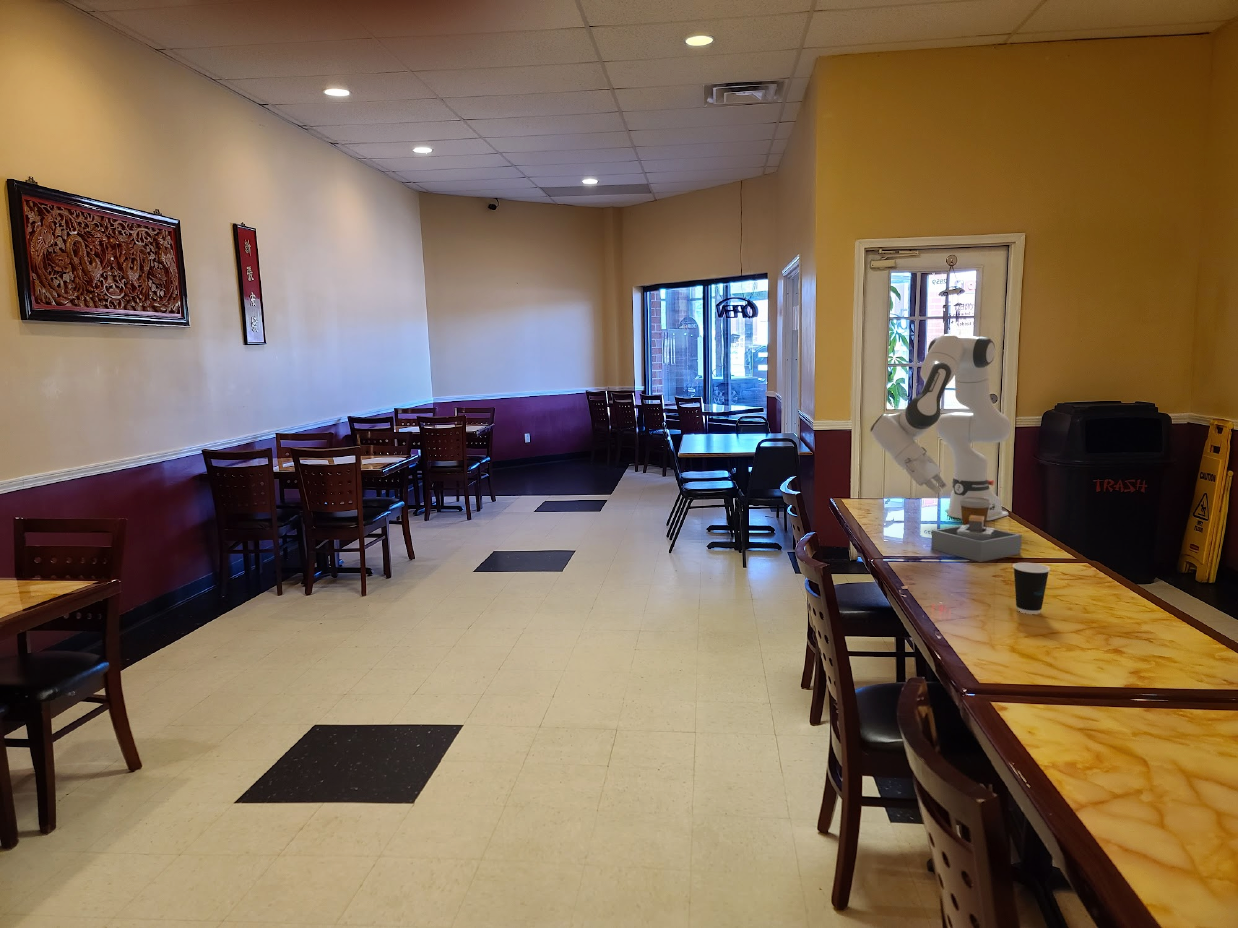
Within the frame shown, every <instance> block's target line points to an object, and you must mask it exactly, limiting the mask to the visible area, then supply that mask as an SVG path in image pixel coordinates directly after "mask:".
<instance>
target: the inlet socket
mask: <svg viewBox="0 0 1238 928" xmlns="http://www.w3.org/2000/svg"><path fill="white" fill-rule="evenodd" d="M961 525H962V526H961ZM961 525H960V526H961V527H960V528H959V529H958V530H957V536H961V537H965V538H970V539H974V540H978V541H984V540H990V539H995V529H996V528H995V527H988V526H985V527H983V532H978V531H969V525H963V524H961Z"/></svg>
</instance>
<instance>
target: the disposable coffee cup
mask: <svg viewBox="0 0 1238 928" xmlns="http://www.w3.org/2000/svg"><path fill="white" fill-rule="evenodd" d="M960 505H961V512H962V519H961V521H962V525H967V524H969V517H970V516H971V515H976V516H984V526H983V527H986V524H987V520H986V519H987V514H988V509H989V506H990V503H989V500H988V499H985V498H979V497H964V498H961V501H960Z"/></svg>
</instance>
